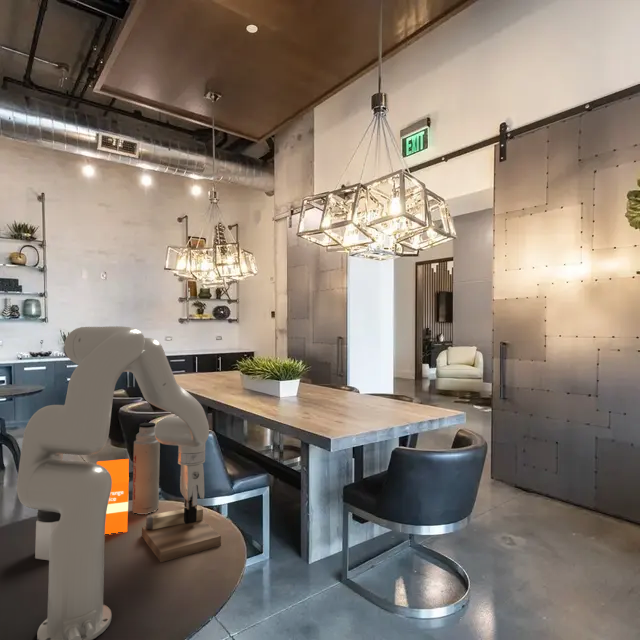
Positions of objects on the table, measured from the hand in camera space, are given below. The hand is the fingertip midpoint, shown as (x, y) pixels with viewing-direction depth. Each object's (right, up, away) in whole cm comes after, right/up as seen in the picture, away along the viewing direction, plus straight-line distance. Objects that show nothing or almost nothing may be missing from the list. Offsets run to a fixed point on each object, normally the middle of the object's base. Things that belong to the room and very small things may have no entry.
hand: (190, 521), depth 127 cm
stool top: (-2, -4, -4) cm, 5 cm away
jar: (-32, -3, -11) cm, 34 cm away
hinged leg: (-5, -1, +1) cm, 5 cm away
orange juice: (-24, -4, +3) cm, 25 cm away
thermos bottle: (-20, -4, +18) cm, 27 cm away
